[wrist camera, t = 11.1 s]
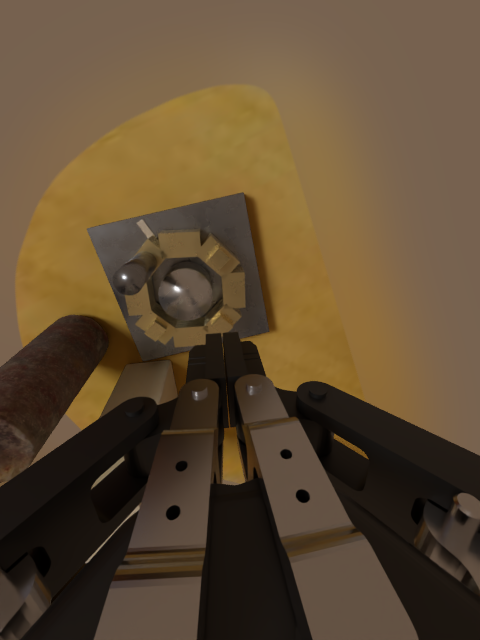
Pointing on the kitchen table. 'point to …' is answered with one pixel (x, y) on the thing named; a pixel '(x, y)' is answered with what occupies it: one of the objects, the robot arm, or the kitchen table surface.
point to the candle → (44, 387)
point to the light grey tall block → (140, 383)
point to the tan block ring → (153, 318)
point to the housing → (185, 267)
